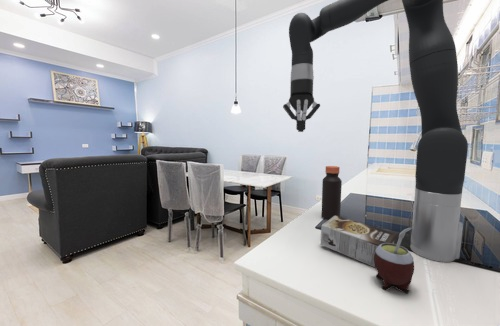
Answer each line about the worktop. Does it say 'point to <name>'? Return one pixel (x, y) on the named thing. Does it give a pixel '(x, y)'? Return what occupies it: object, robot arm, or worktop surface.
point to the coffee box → (354, 238)
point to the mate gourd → (394, 264)
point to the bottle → (331, 193)
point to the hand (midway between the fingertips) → (300, 131)
